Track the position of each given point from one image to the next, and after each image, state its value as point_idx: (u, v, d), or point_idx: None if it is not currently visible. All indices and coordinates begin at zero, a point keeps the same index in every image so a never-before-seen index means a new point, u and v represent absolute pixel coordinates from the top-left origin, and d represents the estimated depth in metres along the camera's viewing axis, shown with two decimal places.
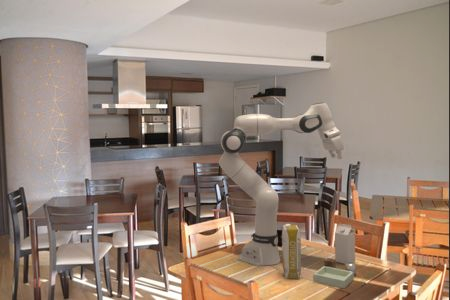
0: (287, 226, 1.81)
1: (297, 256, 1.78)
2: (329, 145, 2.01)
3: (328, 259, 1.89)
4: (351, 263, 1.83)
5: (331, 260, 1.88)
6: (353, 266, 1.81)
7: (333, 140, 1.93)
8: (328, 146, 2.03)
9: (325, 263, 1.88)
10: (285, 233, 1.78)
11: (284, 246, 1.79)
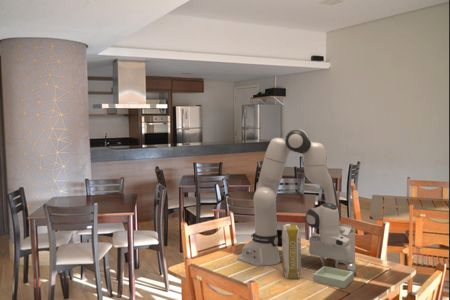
0: (287, 226, 1.81)
1: (297, 256, 1.78)
2: (330, 252, 1.87)
3: (328, 259, 1.89)
4: (351, 263, 1.83)
5: (331, 260, 1.88)
6: (353, 266, 1.81)
7: (348, 249, 1.82)
8: (326, 252, 1.88)
9: (325, 263, 1.88)
10: (285, 233, 1.78)
11: (284, 246, 1.79)
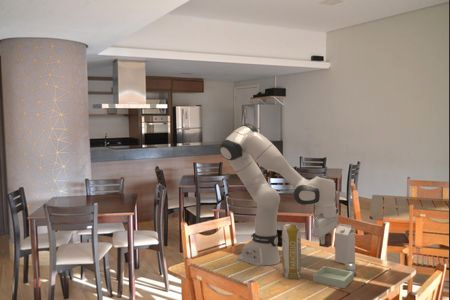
0: (287, 226, 1.81)
1: (297, 256, 1.78)
2: (330, 225, 1.77)
3: None
4: (351, 263, 1.83)
5: (326, 234, 1.78)
6: (353, 266, 1.81)
7: None
8: (328, 227, 1.76)
9: (328, 239, 1.75)
10: (285, 233, 1.78)
11: (284, 246, 1.79)
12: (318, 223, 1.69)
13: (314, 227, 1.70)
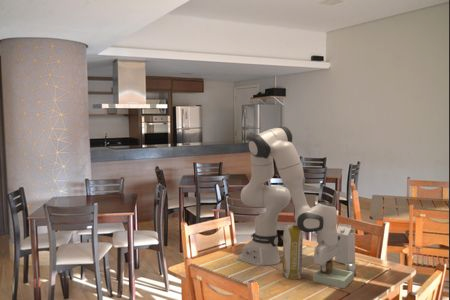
0: (289, 227, 1.80)
1: (298, 257, 1.78)
2: (331, 252, 1.77)
3: None
4: (351, 263, 1.83)
5: (328, 261, 1.79)
6: (353, 266, 1.81)
7: None
8: (329, 254, 1.76)
9: (329, 266, 1.76)
10: (287, 234, 1.78)
11: (286, 246, 1.79)
12: (319, 251, 1.70)
13: (315, 254, 1.71)
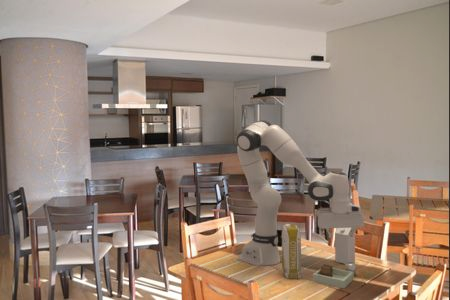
0: (287, 226, 1.81)
1: (297, 256, 1.78)
2: (343, 221, 1.77)
3: (325, 266, 1.78)
4: (351, 263, 1.83)
5: (328, 265, 1.79)
6: (353, 266, 1.81)
7: (362, 214, 1.77)
8: (339, 222, 1.78)
9: (329, 271, 1.76)
10: (285, 233, 1.78)
11: (284, 246, 1.79)
12: (319, 215, 1.79)
13: (318, 218, 1.81)
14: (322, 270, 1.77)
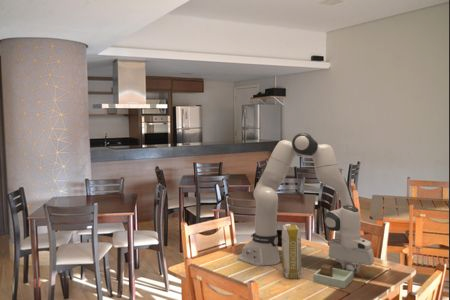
0: (287, 226, 1.81)
1: (297, 256, 1.78)
2: (351, 256, 1.81)
3: (325, 266, 1.78)
4: (351, 263, 1.83)
5: (328, 265, 1.79)
6: (353, 266, 1.81)
7: (370, 252, 1.76)
8: (347, 256, 1.82)
9: (329, 271, 1.76)
10: (285, 233, 1.78)
11: (284, 246, 1.79)
12: (330, 245, 1.87)
13: None
14: (322, 270, 1.77)
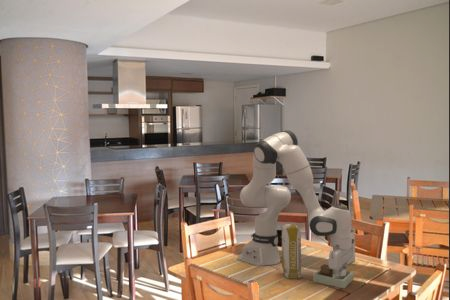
0: (287, 226, 1.81)
1: (297, 256, 1.78)
2: (345, 256, 1.74)
3: (325, 266, 1.78)
4: None
5: (328, 265, 1.79)
6: None
7: None
8: (344, 258, 1.72)
9: (329, 271, 1.76)
10: (285, 233, 1.78)
11: (284, 246, 1.79)
12: (334, 255, 1.66)
13: (330, 259, 1.67)
14: (322, 270, 1.77)
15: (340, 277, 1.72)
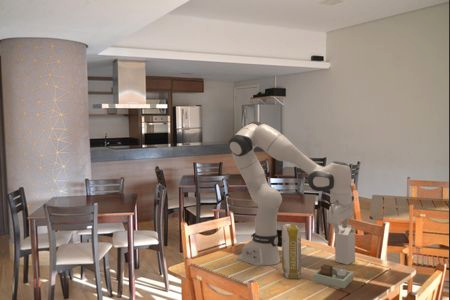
0: (287, 226, 1.81)
1: (297, 256, 1.78)
2: (345, 213, 1.72)
3: (325, 266, 1.78)
4: (339, 268, 1.75)
5: (328, 265, 1.79)
6: None
7: None
8: (344, 215, 1.71)
9: (329, 271, 1.76)
10: (285, 233, 1.78)
11: (284, 246, 1.79)
12: (334, 210, 1.64)
13: (330, 214, 1.65)
14: (322, 270, 1.77)
15: (340, 277, 1.72)
